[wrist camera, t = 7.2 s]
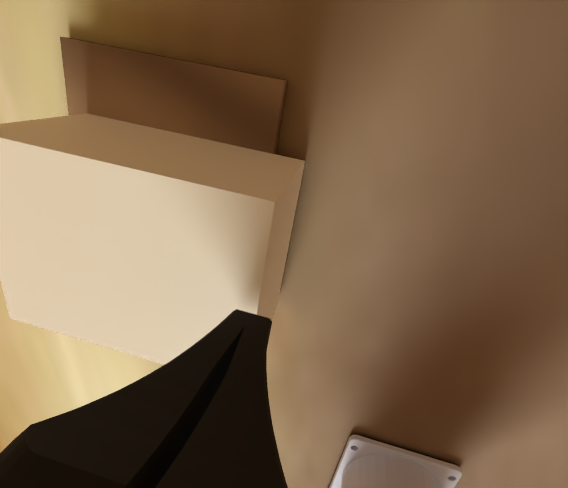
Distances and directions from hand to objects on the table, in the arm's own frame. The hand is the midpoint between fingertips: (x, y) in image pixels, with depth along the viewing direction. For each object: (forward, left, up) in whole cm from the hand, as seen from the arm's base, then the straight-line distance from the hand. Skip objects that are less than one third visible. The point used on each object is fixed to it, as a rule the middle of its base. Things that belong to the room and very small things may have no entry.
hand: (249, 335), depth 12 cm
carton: (0, 0, -5) cm, 5 cm away
